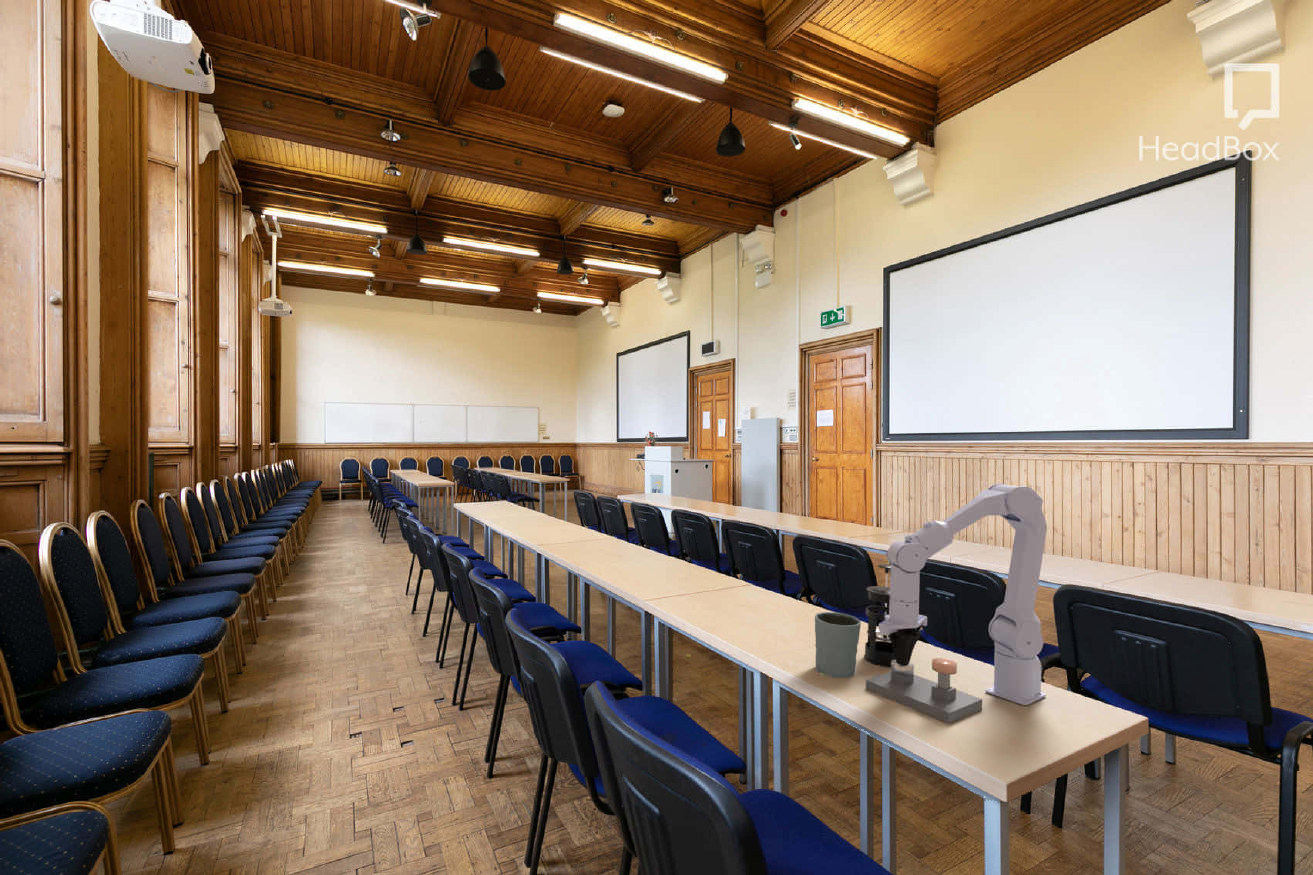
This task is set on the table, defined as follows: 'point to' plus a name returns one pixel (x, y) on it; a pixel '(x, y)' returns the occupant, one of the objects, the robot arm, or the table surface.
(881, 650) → the french press
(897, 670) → the steel plunger
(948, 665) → the peach knob
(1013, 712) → the table surface
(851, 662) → the grey green cup
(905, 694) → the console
